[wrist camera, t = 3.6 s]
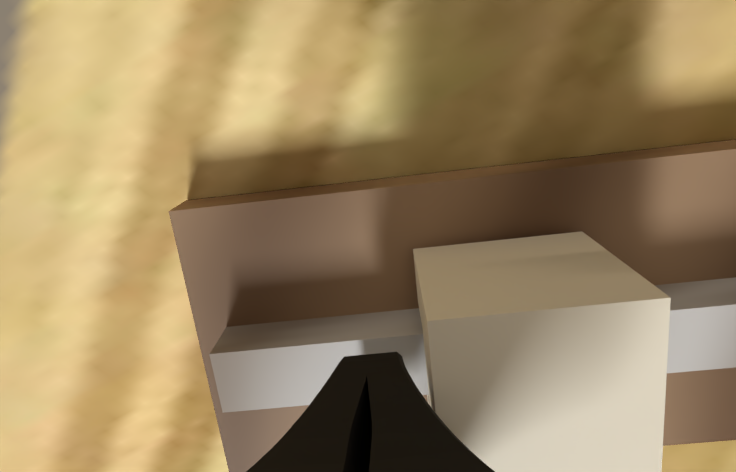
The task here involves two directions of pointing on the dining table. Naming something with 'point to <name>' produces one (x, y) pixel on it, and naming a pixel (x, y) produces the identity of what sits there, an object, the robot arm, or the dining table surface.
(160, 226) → the dining table surface
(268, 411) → the rail board
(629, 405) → the slider
